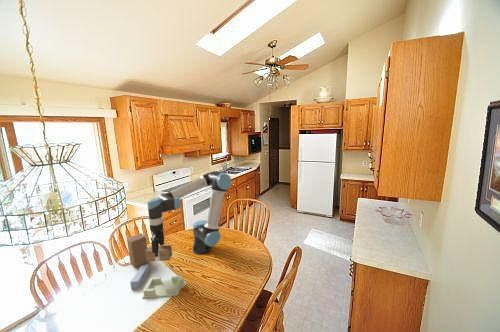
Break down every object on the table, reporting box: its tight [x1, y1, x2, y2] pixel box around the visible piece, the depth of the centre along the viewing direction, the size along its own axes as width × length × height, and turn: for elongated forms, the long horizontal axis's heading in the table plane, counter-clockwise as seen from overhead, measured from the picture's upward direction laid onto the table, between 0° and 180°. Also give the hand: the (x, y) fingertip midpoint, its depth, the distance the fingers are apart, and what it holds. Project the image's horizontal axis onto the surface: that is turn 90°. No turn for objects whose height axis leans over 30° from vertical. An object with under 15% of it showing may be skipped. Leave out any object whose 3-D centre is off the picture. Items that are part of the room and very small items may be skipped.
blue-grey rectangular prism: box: [130, 264, 150, 290], centre depth 135 cm, size 16×4×5 cm, turn 4°
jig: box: [141, 275, 184, 299], centre depth 126 cm, size 13×20×4 cm, turn 94°
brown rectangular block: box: [145, 244, 173, 263], centre depth 132 cm, size 6×14×7 cm, turn 93°
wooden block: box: [126, 232, 148, 268], centre depth 151 cm, size 10×10×20 cm
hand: (159, 257), depth 132 cm, fingers closed on brown rectangular block, 6 cm apart
